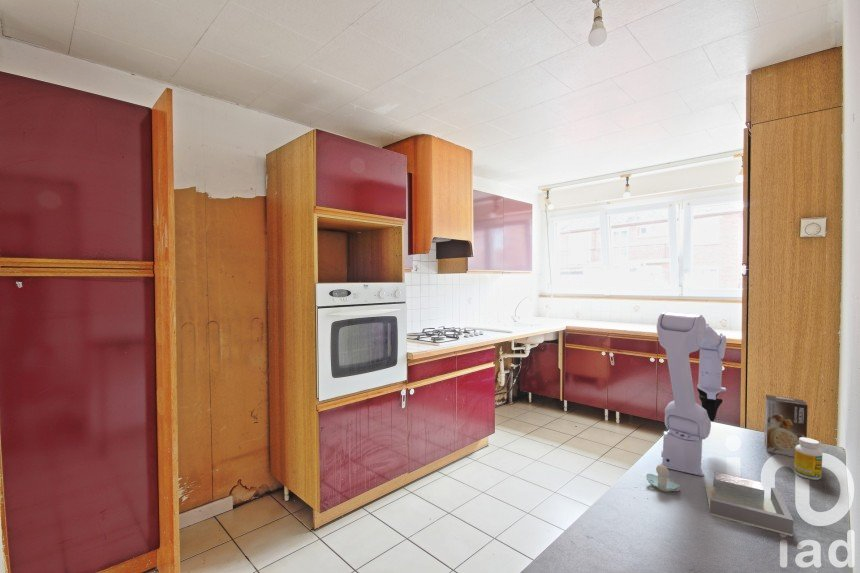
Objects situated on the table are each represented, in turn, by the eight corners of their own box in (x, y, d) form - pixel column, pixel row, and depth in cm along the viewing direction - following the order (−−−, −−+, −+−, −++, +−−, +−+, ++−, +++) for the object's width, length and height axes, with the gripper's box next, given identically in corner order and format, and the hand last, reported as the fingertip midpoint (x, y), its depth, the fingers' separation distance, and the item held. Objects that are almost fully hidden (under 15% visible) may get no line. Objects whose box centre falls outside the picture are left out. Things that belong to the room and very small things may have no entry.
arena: (710, 514, 90) (710, 499, 90) (705, 485, 103) (705, 472, 102) (792, 536, 83) (793, 520, 83) (776, 502, 95) (777, 488, 95)
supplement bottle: (797, 468, 112) (799, 434, 112) (823, 476, 108) (825, 441, 107) (790, 473, 109) (792, 438, 109) (817, 482, 105) (819, 446, 104)
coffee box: (802, 452, 122) (805, 399, 122) (806, 460, 117) (809, 405, 116) (763, 444, 128) (765, 394, 127) (765, 451, 122) (767, 399, 122)
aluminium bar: (759, 503, 94) (760, 482, 94) (763, 512, 91) (764, 490, 91) (712, 492, 99) (713, 472, 99) (714, 500, 95) (715, 479, 95)
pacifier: (653, 478, 106) (643, 485, 103) (654, 455, 106) (644, 461, 103) (684, 490, 101) (674, 498, 97) (685, 466, 100) (676, 472, 97)
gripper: (729, 379, 114) (727, 427, 114) (723, 368, 126) (721, 411, 127) (699, 375, 117) (697, 422, 118) (696, 365, 130) (694, 407, 130)
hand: (708, 416), depth 123 cm, fingers open, 7 cm apart
